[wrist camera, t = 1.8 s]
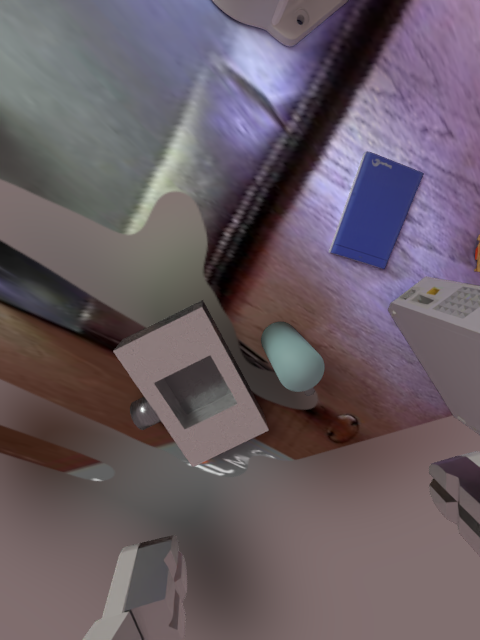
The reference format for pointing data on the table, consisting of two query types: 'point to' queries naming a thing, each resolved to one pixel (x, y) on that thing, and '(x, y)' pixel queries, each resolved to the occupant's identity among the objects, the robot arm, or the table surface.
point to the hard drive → (375, 210)
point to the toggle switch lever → (292, 358)
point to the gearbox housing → (191, 385)
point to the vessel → (477, 256)
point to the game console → (445, 340)
